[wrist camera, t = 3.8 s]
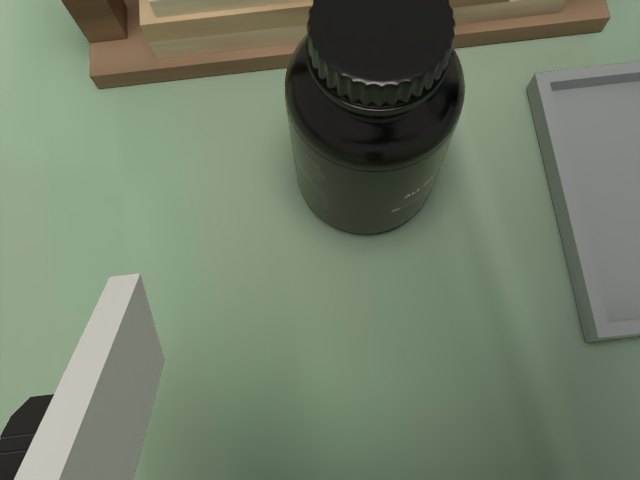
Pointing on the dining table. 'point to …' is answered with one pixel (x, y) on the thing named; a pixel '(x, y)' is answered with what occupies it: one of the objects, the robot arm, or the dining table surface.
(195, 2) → the offcut stack
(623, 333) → the grey tray
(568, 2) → the walnut rack
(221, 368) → the dining table surface
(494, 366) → the dining table surface
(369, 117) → the supplement bottle
